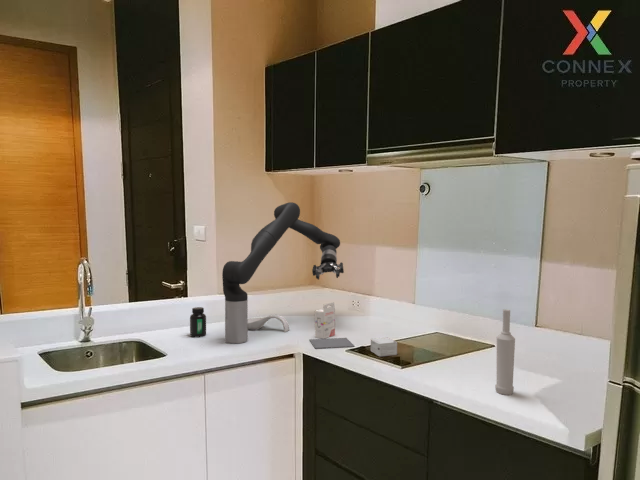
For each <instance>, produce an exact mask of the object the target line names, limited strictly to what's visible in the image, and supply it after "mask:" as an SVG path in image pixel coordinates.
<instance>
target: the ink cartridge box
mask: <svg viewBox="0 0 640 480" xmlns="http://www.w3.org/2000/svg"><path fill="white" fill-rule="evenodd" d="M322 306H323V307H322V308H320V309H317V310H315V311H314V330H315V331H314V335H315V336H314V337H315V338H316V339H328V338H330V337H331V338H332V337H333V336H335V335H336V307H335V302H329V303H325V304H323V305H322Z"/></svg>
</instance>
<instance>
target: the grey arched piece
mask: <svg viewBox="0 0 640 480" xmlns="http://www.w3.org/2000/svg"><path fill="white" fill-rule="evenodd" d="M271 319H277V320H278V321H280V322H281V323H282V324H281V325H282V326H283V332H284V333H287V332H288V331H290V324H289V322H288V321H287V319H286V318H285V317H284V316H281V315H280V314H275V313H274V314H270V315H268V316H262V317H251V318H248V330H249V331H250V330H251V331H252V330H253V331H255V330H260V329H261V328H262V327H264V326H265V324H266V323H267V322H269V321H270V320H271Z"/></svg>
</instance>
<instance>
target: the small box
mask: <svg viewBox="0 0 640 480" xmlns="http://www.w3.org/2000/svg"><path fill="white" fill-rule="evenodd" d="M370 352H371V353H374V355H376V356H378V357H388V356H398V342H397V341H396V340H394V339H393V338H389V337H387V336H385V337H378V338H371V339H370Z"/></svg>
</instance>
